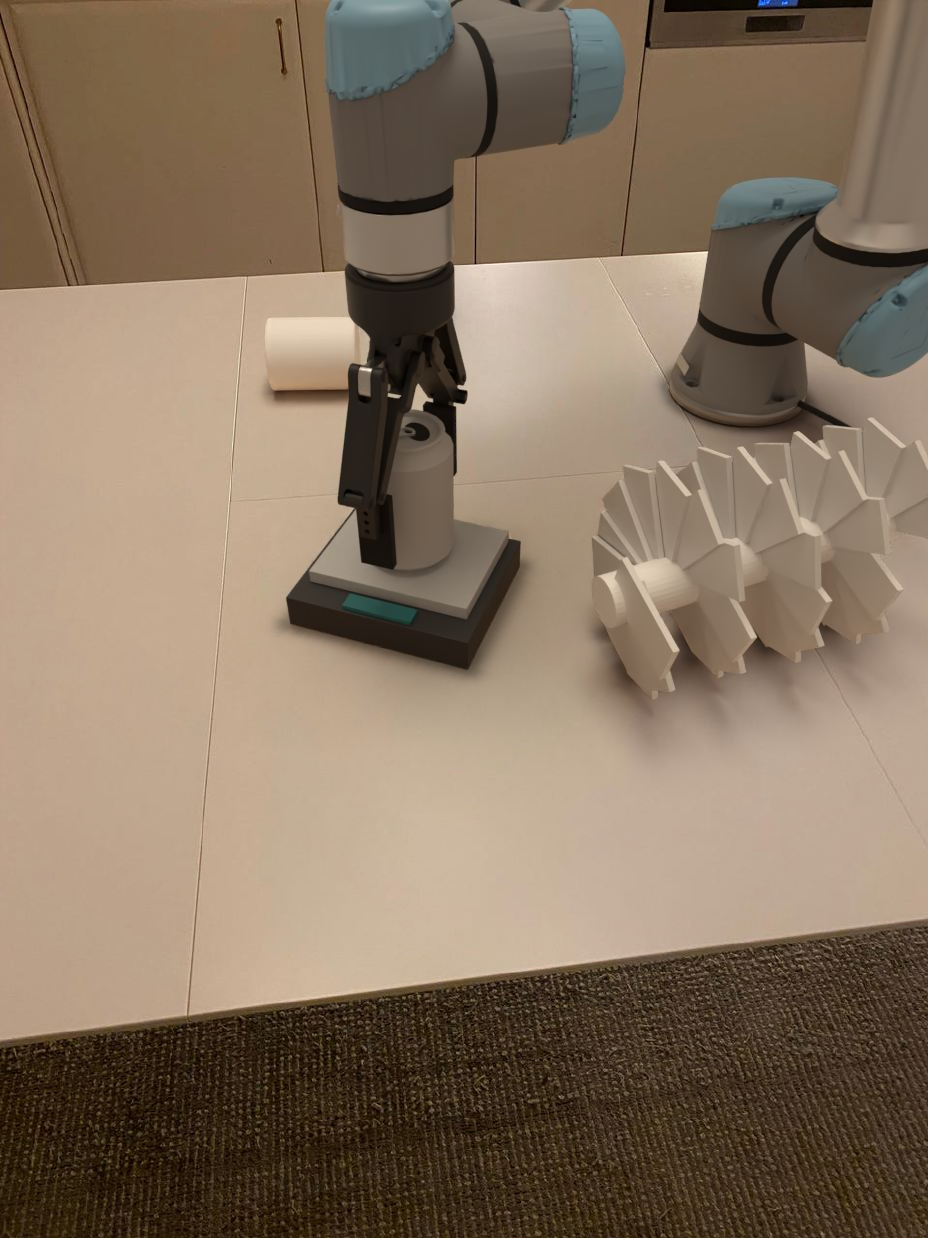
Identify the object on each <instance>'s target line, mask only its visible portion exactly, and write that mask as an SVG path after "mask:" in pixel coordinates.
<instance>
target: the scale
mask: <svg viewBox="0 0 928 1238" xmlns="http://www.w3.org/2000/svg"><path fill="white" fill-rule="evenodd" d="M509 533H510V531H509V530H506V529H502V528H497V527H493V526H487V525H484V524H478V523H474V522H469V521H466V520H465V521H464V520H460V519H455V518H454V542H453V548H452V550H451V551H450V553H449V554H448V555H447V557H445V558H444V559H442V560H441V561H439V562H438V563H436V564H434V565H433V566H432V567H429V568H426V569H423V570H419V571H411V572H410V571H399V570H395V569H393V570H391V569H387V568H382V567H378V566H374V565H369V564H365V563H361V555H360V545H359V535H358V525H357V515H356V508H352V510H351V512H350V513H349V514H348V515H347V517H346V518H345V519H344V521H343V522H342V523H341V525H340V526H339V527H338V528H337V530H336V531H335V533H334V534H333V535H332V537H331V538H329V541H327V543H326V544H325V545H324V547H323V548H322V549H321V551H320V552H319V554H318V555H317V556H316V557H315V559H314V560H313V561H312V562H311V564H310V565H309V567H307V569H306V570H305V572H304V573H303V574H302V576H300V578H299V580H298V581H297V582H296V583H295V585H294V586H293V588H292V589H290V592H289V593H288V594H287V595H286V597H285V601H286V606H287V614H288V619H289V624H290V625H293V626H297V627H300V628H304V629H309V630H313V631H316V632H320V633H323V634H328V635H332V636H336V637H340V638H343V639H346V640H351V641H355V642H359V643H362V644H366V645H371V646H373V647H378V648H381V649H382V648H383V649H386V650H390V651H392V652H393V651H394V652H398V653H400V654H401V653H402V654H405V655H409V656H414V657H417V658H421V659H424V660H429V661H434V662H436V663H440V664H444V665H448V666H452V667H456V668H459V669H463V670H469V668H470V666H471V664H472V662H473V660H474V659H475V656H476V654H477V652H478V651H479V648H480V646H481V644H482V643H483V641H484V639H485V637H486V635H487V632H488V631H489V628H490V627H491V624H492V622H493V621H494V618H495V617H496V615H497V612H498V611H499V609H500V607H501V605H502V603H503V601H504V599H505V597H506V595H507V593H508V591H509V589H510V587H511V585H512V583H513V581H514V579H515V577H516V575H517V573H518V571H519V569H520V566H521V548H522V547H521V546H522V541H521V540H519V539H518V540H517V539H514V538H510V537H509V536H510V534H509Z"/></svg>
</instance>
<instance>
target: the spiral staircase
mask: <svg viewBox="0 0 928 1238" xmlns="http://www.w3.org/2000/svg"><path fill="white" fill-rule="evenodd" d="M852 427H853V426H851V427H842V426H835V425H833V424H831V425H829V424H825V425H823V426H822V437H823V439H818V440H817V441H816V442H815V443H814V442H813V441H811V440H810V439H809V438H808V437H807V436H806V435H805V434H803V433H802V432H800V431H799V430H797V431H793V433H792V436H791V437H792V438H791V442H790V443H789V442H757V443H753V450H754V457H752V456H751V454H750V453H749V452H748V451H747V449H746V448H745V447H744V446H743V445H742V446H738V447H736V450H735V453H734V456H731V455H728V454H725V453H724V452H720V451H716V450H714V449H711V448H708V447H705V446H704V445H703V446H698V447H696V454H697V455H696V456H697V458H696V459H697V460H696V461H693V462H690V463H689V464H688V465H687V466H684V468H682V469H681V470H679V471H678V472H676V473H675V472H674V471H673V469H672V468H671V467H670V466H669V465H668V463H667V462H666V461H665V460H664V459H662V460H659V461H657V462H656V463H657V464H656V469H655V471H653V470H650V469H646V468H642V467H639V466H635V465H631V464H624V465H622V470H623V471H622V472H623V479H620V480H617V482H616V483H615V484H614V485H613V486H612V487H610V489H609V491H608V492H607V493H606V494H605V495H604V496H603V497H602V498H601V500H602V503H603V506H604V509H605V510H603V511H600V515H599V520H598V521H599V522H598V529H597V534H595V535H591V551H592V565H593V566H592V567H593V568H592V569H593V578H592V580H591V589H590V590H591V591H590V592H591V597H592V602H593V605H594V606H593V607H594V609H595V611H596V614H597V616H598V619H600V621H601V622H602V624H603V625H604V626H605V630H606V633H607V635H608V637H609V639H610V641H611V643H612V644H613V646H614V649H615V650H616V652H617V654H618V656H619V658H620V660H621V662H622V664H623V666H624V667H625V669H626V674H627V675H628V676H629V677H630V678H631V679H632V680H633V681H634V683H636V684H637V685H638V686H639V687H640V688H641V690H642V691H643V692H644V693H646V695H648V697H649V698H650V699H651V700H654V699H657V698H659V692H665V693H670V692H671V693H672V692H674V691H676V686H675V684H674V679H673V676H672V672H671V668H672V666H673V664H674V662H675V660H676V658H677V657H678V655H679V653H680V648H679V647H678V645H677V643H676V642H675V640H674V638H673V636H672V634H671V632H670V630H669V629H668V627H667V625H666V624H665V622H664V619H663V618H662V616H661V614H662V613H666V612H669V611H670V613H671V614H672V617H673V618H674V620H675V622H676V624H677V626H678V628H679V630H680V632H681V634H682V636H683V638H684V640H685V641H686V643H687V645H688V648H689V650H690V652H691V653H692V654H693V655H695V657H697V658H698V660H699V661H700V662H701V663H702V664H704V666H705V667H706V668H708V670H709V671H710V672H711V673H712V674H713V675H714V676H715V677H716V678H717V679H720V678H723V677H724V676H725V673H731V674H735V675H736V674H737V675H744V674H746V673H747V669H746V668H747V667H746V665H745V661H744V656H743V655H744V654H745V652H747V650H748V649H749V648H750V646H752V644H753V643H754V641H756V640H757V638H759V639H760V641H761V643H762V644H763V645H764V647H765V648H768V647H769V648H771V649H773V650H774V651H776V652H777V653H779V654H781V655H782V656H784V657H785V658H786V659H789V660H790V661H791V662H793V663H794V664H798V663H801V662H802V651H807V650H813V649H818V648H821V647H825V642H824V639H823V637H822V634H821V631H820V627H819V626H820V625H822V626H823V627H824V626H827V627H829V628H830V629H832V630H834V631H835V632H836V633H838V634H839V635H841V636H842V637H844V638H845V639H847V640H849V642H851V643H853V644H854V645H858V644H861V643H862V639H863V638H862V636H863V635H869V634H883V633H884V634H885V633H888V632H890V631H891V630H890V627H889V626H890V625H889V623H888V620H887V616H886V613H887V612H888V610H889V609H890V608H891V607H892V606H893V604H894V603H895V601H896V600H897V599H898V598H899V597H900V596H901V594H902V593H903V591H905V589H904V587H902V585H901V584H900V582H899V581H898V580H897V578H896V577H895V576H894V574H893V573H892V572H891V570H890V569H889V567H888V566H887V565H886V564H885V562H884V561H883V559H882V558H881V556H880V555H883V556H888V555H890V554H892V549H891V542H894V541H895V540H897V538H898V537H899V534H900V533H901V534H902V533H903V534H906V535H910V536H914V537H918V538H924V539H927V540H928V453H927V452H926V449H925V448H924V446H923V443H922V441H921V439H918V440H914V441H913V442H911V443H910V444H908V445H907V446H906V445H905V444H904V443H903V442H902V441H900V440H899V439H898V438H897V437H896V436H895V435H894V434H893V433H891V432H890V431H889V430H888V429H887V428H886V427H884V426H883V425H882V424H881V423H880V422H878V421H877V420H876V419H875V418H874V417H873V416H872V417H867V418H866V420H865V423H864V426H863V429H862V428H861V427H853V428H852Z"/></svg>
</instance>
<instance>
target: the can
mask: <svg viewBox="0 0 928 1238" xmlns="http://www.w3.org/2000/svg"><path fill="white" fill-rule="evenodd" d="M454 477H455V476H454V469H453V442H452V440H451V437H450V436H449V435H448V434H447V433H446V432H445V427H444V424H443V422H442V421H441V420H440V419H439V418H437V417H436V416H434V415H432V414H430V413H428V412H424V411H423V410H419V409H415V408H414V409H412V408H411V410H410V411H409V412H407V413H405V414H404V416H403V420H402V424H401V429H400V433H399V438H398V443H397V447H396V452H395V457H394V461H393V466H392V471H391V475H390V480H389V485H388V489H387V494H389V495H392V498H393V513H394V529H395V544H396V559H397V565H396V566H395V568H394V569H395V570H399V571H410V572H411V571H419V570H423V569H426V568H429V567H432V566H433V565H434V564H436V563H438V562H439V561H441V560H442V559H444V558H445V557H447V555H448V554H449V553H450V551H451V550H452V548H453V542H454V519H455V508H454V507H455V503H454V502H455V501H454V500H455V498H454V497H455V496H454V495H455V494H454V492H455V491H454V488H455V487H454V485H455V484H454V480H455V479H454Z"/></svg>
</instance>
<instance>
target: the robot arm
mask: <svg viewBox="0 0 928 1238" xmlns="http://www.w3.org/2000/svg"><path fill="white" fill-rule="evenodd" d="M571 2H573V0H331V1H330V2H329V4H328V6H327V9H326V11H325V16H324V57H325V58H324V59H325V78H324V82H325V92H326V93H327V97H328V105H329V114H330V123H331V133H332V143H333V150H334V160H335V161H334V162H335V171H336V179H337V180H336V181H337V183H336V184H337V194H338V203H337V206H336V208H335V213H336V216H337V217H338V218H340V227H341V239H342V248H343V249H342V250H343V251H342V252H343V258H344V259H345V261H347V264H346V266H345V268H344V281H345V282H344V283H345V291H346V302H347V304H346V305H347V312H348V317H350V318H351V319H352V321H353V322H354V323H355V324H356V325H357V326H358V327H359V329H362V330H363V332H364V333H365V334H366V335H367V336H368V338H369V341H368V342H369V345H368V353H367V357H366V363H365V364H362V363H361V364H355V363H352V364H350V366H349V369H348V389H347V391H348V393H347V394H348V395H347V396H348V401H347V409H346V419H345V427H344V428H345V429H344V435H343V436H344V437H343V446H342V453H341V454H342V455H341V464H340V472H339V481H338V491H337V504H338V505H339V506H344V507H347V508H352V509H354V508H356V515H357V525H358V535H359V545H360V555H361V563H365V564H369V565H374V566H378V567H382V568H387V569H391V570H393V569H394V568H395V566H396V565H397V559H396V544H395V529H394V513H393V498H392V495H389V494H387V489H388V485H389V480H390V475H391V471H392V466H393V461H394V457H395V452H396V447H397V443H398V438H399V433H400V429H401V424H402V420H403V416H404V414H405V413H407V412H409V411H410V410H411V409H412V408H413V404H414V399H415V394H416V390H417V386H418V385H419V387H420V388H421V390H422V391H423V392H424V394H425V395H426V397H427V398H428V399H431V400H432V401H428V400H426V401H425V402H424V403H423V404H422V411H424V412H428V413H430V414H432V415H434V416H436V417H437V418H439V419H440V420H441V421H442V422H443V424H444V427H445V432H446V433H447V434H448V435H449V436H450V437H451V440H452V442H453V469H454V477H455V476H456V474H457V473H458V442H457V441H458V440H457V439H458V438H457V435H458V433H457V430H458V429H457V406H456V405H455V404H459V405H466V403H467V401H468V395H469V394H468V390H467V389H461V388H459V386H462V387H464V386H465V384H466V382H467V371H466V367H465V362H464V359H463V355H462V352H461V351H462V350H461V347H460V343H459V339H458V336H457V332H456V327H455V323H454V319H453V316H454V314H455V310H456V293H455V291H456V288H455V286H456V284H455V280H456V279H455V274H456V273H455V271H456V270H455V265H454V262H453V261H451V260H453V257H455V253H456V230H455V229H456V226H455V194H454V193H455V191H454V189H455V188H454V186H455V185H454V184H455V183H454V180H455V178H454V177H455V161H457V160H462V159H471V158H477V157H478V158H479V157H481V156H486V155H487V156H489V155H494V154H501V153H506V152H511V151H512V152H513V151H518V150H525V149H532V148H537V147H543V146H544V147H545V146H550V145H551V146H552V145H556V144H557V145H558V146H563V145H565V144H568V142H572V141H575V140H579V139H582V138H586V137H591V136H594V135H596V134H599V133H600V132H602V131H604V130H605V129H606V128H607V127H608V126H609V125H610V124H611V123H612V122H613V120H614V119H615V117H616V116H617V114H618V111H619V108H620V107H621V103H622V101H623V97H624V93H625V92H624V85H625V76H626V59H625V51H624V47H623V43H622V40H621V37H620V34H619V32H618V30H617V28H616V26H615V24H614V23H613V21H612V20H611V19H610V18H609V17H608V16H607V15H606V14H605V13H604V12H602V11H600V10H598V9H596V8H576V9H575V8H568V7H567V5H568V4H570V3H571ZM869 16H870V17H869V22H868V27H867V33H866V39H865V44H864V50H863V54H862V60H861V65H860V72H859V78H858V82H857V88H856V93H855V97H854V98H855V99H854V105H853V110H852V115H851V120H850V126H849V131H848V137H847V143H846V148H845V153H844V158H843V163H842V164H843V165H842V170H841V176H840V182H839V186H837V185H835V184H834V183H831V182H828V181H825V180H821V179H813V178H805V177H765V178H756V179H751V180H746V181H742V182H738V183H736V184H733V185H731V186H730V187H729V188H727V189H725V191H724V192H723V193H722V195H721V196H720V198H719V200H718V203H717V207H716V212H715V217H714V220H713V224H712V225H711V229H710V236H709V243H708V249H707V256H706V262H705V269H704V275H703V280H702V287H701V293H700V294H701V295H700V300H699V306H698V308H699V309H698V313H697V318H696V322H695V325H694V327H693V329H692V331H691V333H690V334H689V336H688V338H687V340H686V341H685V344H684V346H683V348H682V349H681V351H680V353H679V355H678V357H677V359H676V360H675V363H674V364H673V367H672V369H671V373H670V378H669V380H670V381H669V392H670V394H671V396H672V398H673V399H674V400H675V402H676V403H677V404H679V405H680V406H681V407H682V408H683V409H684V410H687V411H688V412H689V413H692V414H693V415H695V416H698V417H700V418H703V419H706V420H709V421H711V422H716V423H720V424H724V425H729V426H736V427H737V426H738V427H762V426H763V427H765V426H772V425H775V424H779V423H783V422H786V421H788V420H791V419H792V418H794V417H796V416H797V415H798V414H799V413H800V412H801V411H802V410H803V411H806V412H807V413H810V414H811V415H813V416H815V417H817V418H819V419H821V420H824V421H825V422H828V423H829V424H831V425H832V426H842V427H852V428H854V427H853V426H851V425H849V424H848V423H846V422H845V421H842V420H841V419H838V418H836V417H835V416H832V415H831V414H829V413H827V412H825V411H823V410H821V409H819V408H817V407H816V406H813V405H810V404H809V403H807V402H805V401H806V398H807V394H808V385H809V381H808V371H807V369H808V368H807V359H806V348H805V347H806V346H805V345H808V346H810V347H811V348H813V349H814V350H817V351H818V352H819V353H822V354H824V355H826V356H827V357H829V358H831V359H833V360H834V361H836V363H837V365H839V366H840V367H843V368H850V369H851V370H853V371H855V372H857V373H859V374H861V375H864V376H866V377H869V378H873V379H875V378H876V379H879V378H880V379H881V378H887V377H891V376H894V375H897V374H899V373H901V372H903V371H905V370H907V369H909V368H910V367H912V366H913V365H915V364H916V363H917V362H919V361H920V360H921V359H923V358H924V357H926V355H927V354H928V0H872V6H871V11H870V15H869ZM389 394H391V395H395V396H399V397H393V396H389Z"/></svg>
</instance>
